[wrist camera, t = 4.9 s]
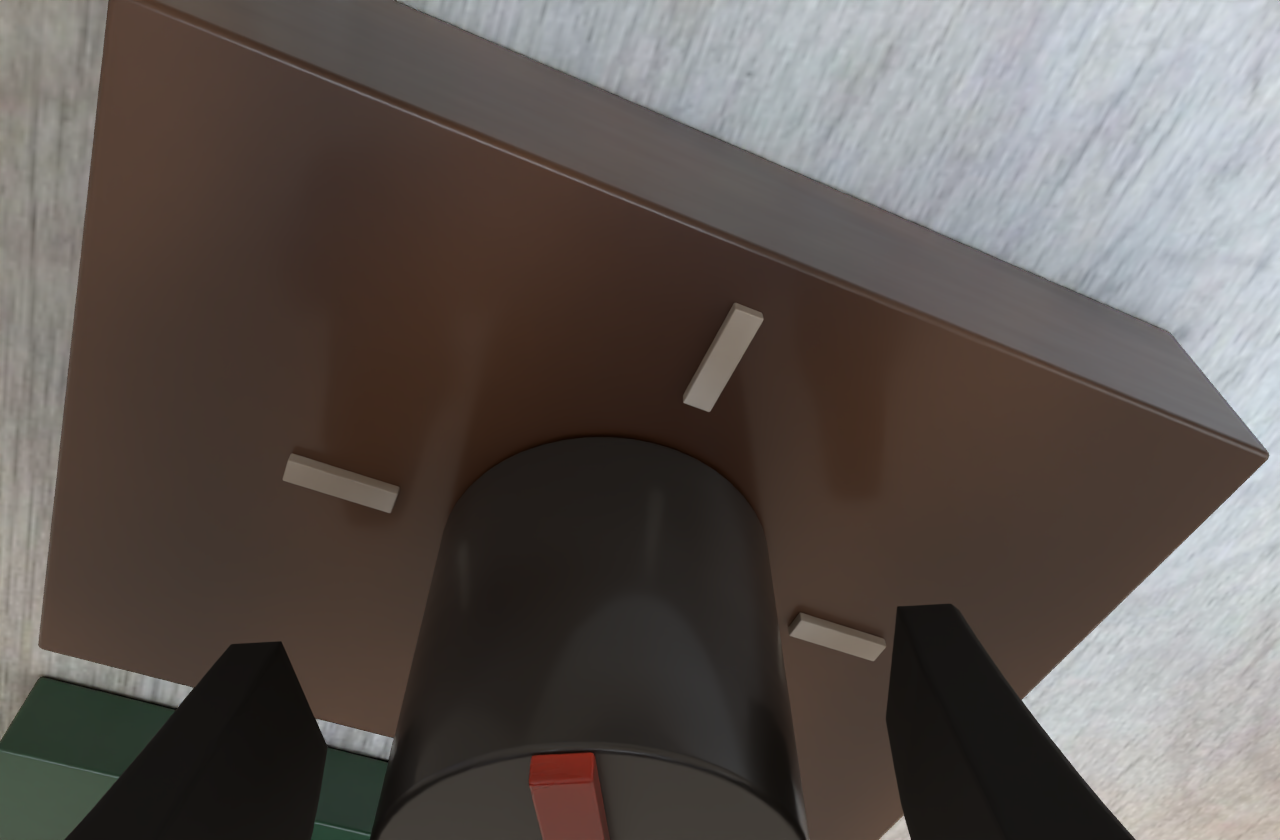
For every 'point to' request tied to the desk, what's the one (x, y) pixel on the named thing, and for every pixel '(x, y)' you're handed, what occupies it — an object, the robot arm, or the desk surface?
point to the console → (564, 373)
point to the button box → (105, 747)
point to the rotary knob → (597, 661)
